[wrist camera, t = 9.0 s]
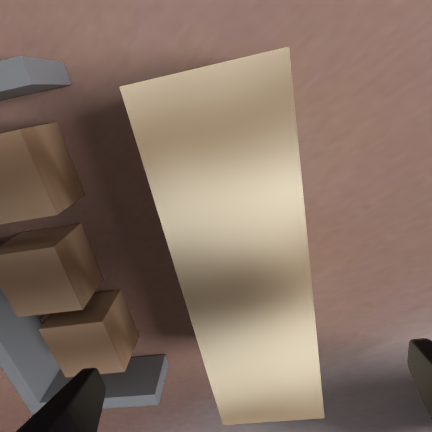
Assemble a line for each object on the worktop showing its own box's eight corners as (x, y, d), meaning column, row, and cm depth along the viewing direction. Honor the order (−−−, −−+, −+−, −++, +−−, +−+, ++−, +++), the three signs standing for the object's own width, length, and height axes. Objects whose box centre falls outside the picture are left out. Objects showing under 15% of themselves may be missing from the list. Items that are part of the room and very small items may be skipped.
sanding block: (299, 326, 20) (324, 418, 14) (226, 334, 20) (222, 425, 15) (267, 62, 14) (289, 46, 8) (163, 86, 14) (119, 86, 9)
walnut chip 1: (86, 193, 17) (57, 215, 14) (23, 204, 17) (-17, 227, 15) (58, 121, 15) (19, 129, 12) (-10, 136, 16) (-62, 146, 13)
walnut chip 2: (139, 334, 21) (124, 371, 18) (87, 340, 21) (65, 377, 19) (121, 288, 19) (102, 321, 17) (65, 295, 20) (38, 329, 17)
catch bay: (168, 364, 22) (158, 404, 19) (56, 373, 23) (31, 413, 20) (63, 61, 14) (21, 55, 11) (-99, 99, 15) (-173, 102, 12)
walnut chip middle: (104, 277, 19) (82, 309, 16) (48, 284, 20) (17, 317, 17) (82, 221, 17) (53, 246, 15) (21, 231, 18) (-17, 257, 15)
